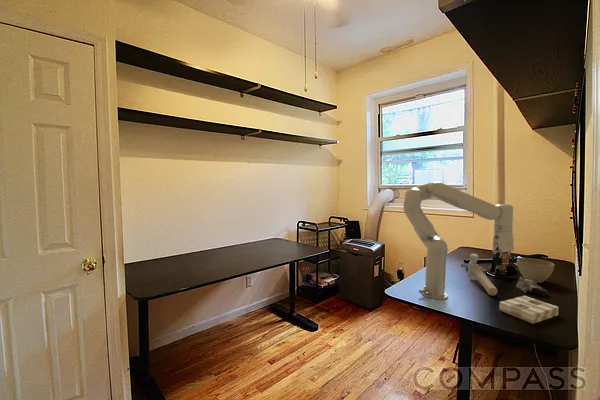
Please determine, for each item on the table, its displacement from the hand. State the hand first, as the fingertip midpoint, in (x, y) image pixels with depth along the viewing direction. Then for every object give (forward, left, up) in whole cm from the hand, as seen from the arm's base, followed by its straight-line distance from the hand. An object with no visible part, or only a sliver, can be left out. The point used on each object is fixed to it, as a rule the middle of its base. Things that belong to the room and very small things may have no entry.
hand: (501, 263), depth 144 cm
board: (0, -13, -20) cm, 24 cm away
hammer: (+13, +18, -20) cm, 30 cm away
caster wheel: (+32, +1, -20) cm, 38 cm away
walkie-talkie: (+38, +41, -21) cm, 59 cm away
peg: (0, 0, -3) cm, 3 cm away
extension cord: (+76, +35, -21) cm, 86 cm away
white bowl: (+55, +12, -20) cm, 60 cm away
